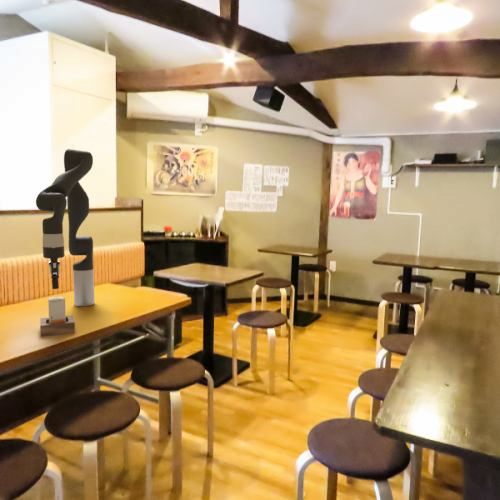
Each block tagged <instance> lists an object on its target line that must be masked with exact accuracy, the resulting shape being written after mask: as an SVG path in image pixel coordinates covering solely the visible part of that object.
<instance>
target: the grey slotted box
mask: <svg viewBox="0 0 500 500" xmlns="http://www.w3.org/2000/svg"><path fill="white" fill-rule="evenodd" d="M75 323H76V322H75V319H74V315H73V314H72V315H66V322H57V323H49V317H43V318H40V321H39V327H40V328H39V329H40V337H47V336H56V335H65V334H75V333H76V328H75V327H76V326H75V325H76V324H75Z"/></svg>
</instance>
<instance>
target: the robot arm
mask: <svg viewBox="0 0 500 500" xmlns="http://www.w3.org/2000/svg"><path fill="white" fill-rule="evenodd" d="M63 154H64V155H63V165H64V172H63V173H61V174H59V175H58V176H57V177H56V178H55V179H54V180H53V182H52V183H51V184H50V185H49V186H47V187H45V188H44V189H43V190H42V191H40V192H39V194H38V195H37V197H36V199H35V206H36V208H37V209H38V210H40V211H42V212H53V214H52V216H50V217H45V218H44V219H43V220H42V223H41V224H42V255H43V258H44V259H49V260H50V261H48V268H49V274H50V275H51V276H50V279H51V286H52V288H51V289H52V290H58V289H59V288H60V285H59V279H60V276H59V275H60V273H61V271H60V270H61V269H60V268H61V262H60V261H58V259H62V258H65V255H66V254H65V239H64V230H63V229H64V227H63V225H64V224H63V223H64V217H65V212H66V209H67V216H68V217H67V219H68V251H69V254H70V255H71V256H76V257H78V256H85V257H84V258H83V259H82V260H79V261H77V262H75V263H73V264H72V280H73V299H74V300H73V301H74V302H73V303H74V306H75V307H88V306H89V307H90V306H92V305H95V281H94V280H95V279H94V275H95V274H94V239H93V238H92V236H91V235H84V236H83V235H79V236H77V233H78V230H79V229H80V227H81V226H82V224H83V223H84V222H85V220H86V219H87V217H88V215H89V213H90V199H89V196H88V194H87V192H86V190H85V189H84V188H83V186H82V185H81V184H80V182H79V181H80V180H81V179H83V178H84V177H85V176H87V174H88V173H89V172H90V171H91V169H92V168H93V164H94V159H93V158H94V156H93V155H92V153H91V152H90V151H87V150H82V149H77V148H67V149H65V150H64V153H63Z"/></svg>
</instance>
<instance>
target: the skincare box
mask: <svg viewBox="0 0 500 500" xmlns="http://www.w3.org/2000/svg"><path fill="white" fill-rule="evenodd" d="M65 297H66V296H65V295H64V296H54V297H47V301H48V303H47V304H48V318H49V323H57V322H66V316H67V315H66V314H67V313H66V298H65Z"/></svg>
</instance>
